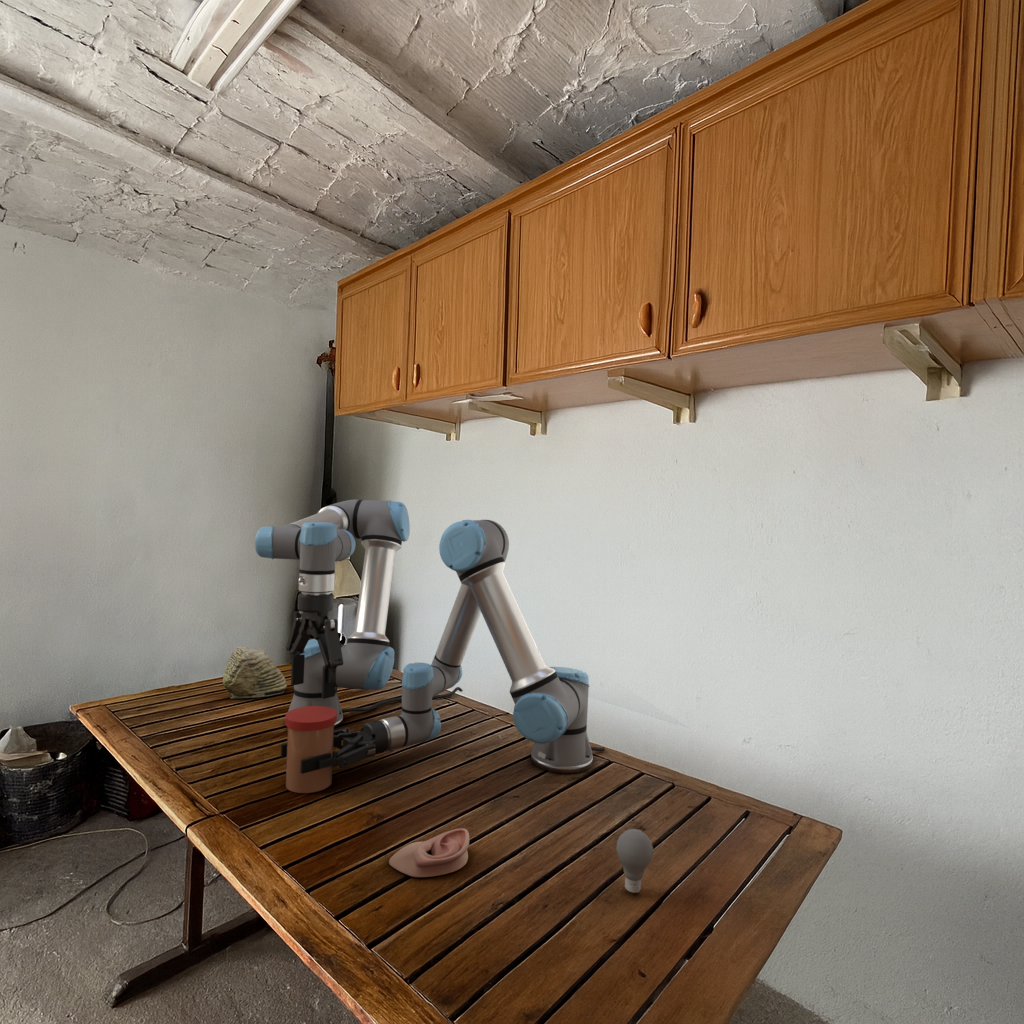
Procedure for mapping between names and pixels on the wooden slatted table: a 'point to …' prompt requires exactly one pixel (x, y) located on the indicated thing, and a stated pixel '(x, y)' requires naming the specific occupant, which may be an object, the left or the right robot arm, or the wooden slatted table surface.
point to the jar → (306, 747)
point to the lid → (311, 718)
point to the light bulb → (634, 857)
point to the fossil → (252, 674)
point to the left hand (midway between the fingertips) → (312, 690)
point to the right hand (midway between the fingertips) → (291, 758)
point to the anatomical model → (433, 855)
